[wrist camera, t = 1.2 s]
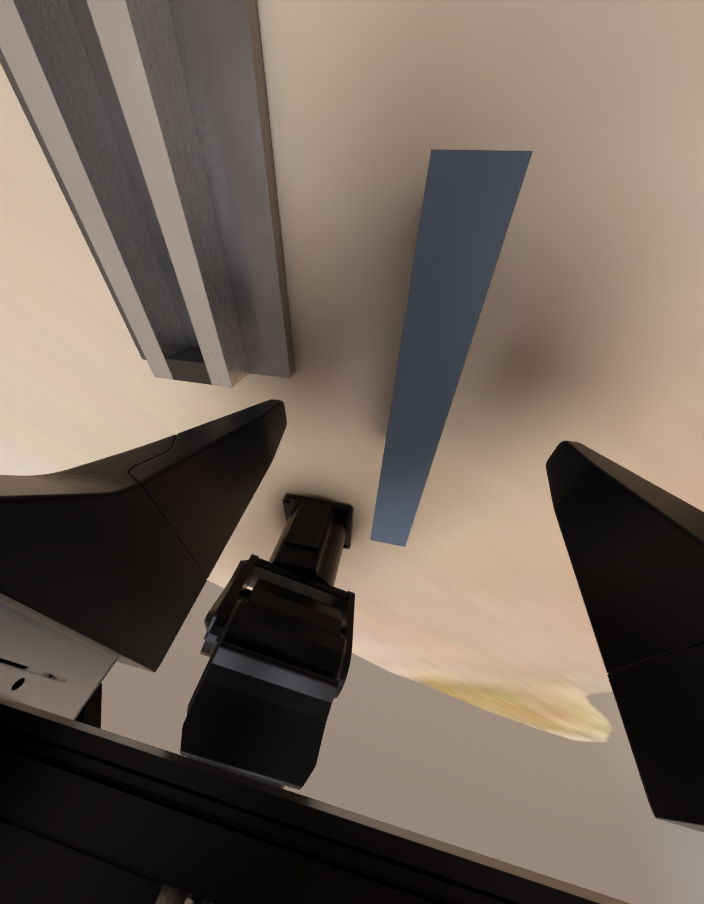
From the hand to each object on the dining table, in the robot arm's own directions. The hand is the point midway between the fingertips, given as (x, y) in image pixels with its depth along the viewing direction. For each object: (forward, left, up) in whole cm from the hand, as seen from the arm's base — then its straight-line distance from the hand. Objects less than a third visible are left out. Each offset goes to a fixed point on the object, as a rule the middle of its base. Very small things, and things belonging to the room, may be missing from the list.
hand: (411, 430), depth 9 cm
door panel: (0, 0, -7) cm, 7 cm away
